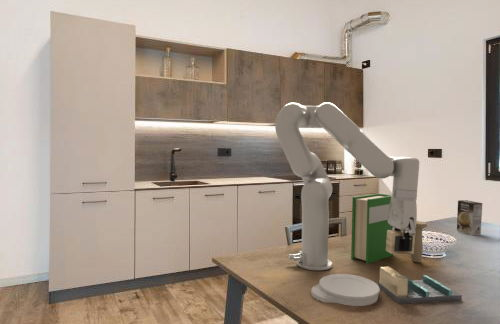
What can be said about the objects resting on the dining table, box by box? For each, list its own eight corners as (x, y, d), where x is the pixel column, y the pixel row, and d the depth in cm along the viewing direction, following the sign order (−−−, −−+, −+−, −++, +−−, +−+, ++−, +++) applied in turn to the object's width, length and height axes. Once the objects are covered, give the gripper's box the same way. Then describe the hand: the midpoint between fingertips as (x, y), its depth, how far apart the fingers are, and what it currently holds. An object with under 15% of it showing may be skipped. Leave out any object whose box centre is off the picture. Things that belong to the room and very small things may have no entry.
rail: (399, 303, 97) (399, 280, 97) (377, 286, 109) (378, 265, 108) (461, 300, 99) (462, 277, 99) (434, 283, 111) (434, 263, 111)
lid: (301, 285, 109) (301, 276, 109) (359, 281, 114) (359, 272, 114) (325, 311, 93) (325, 300, 92) (392, 304, 97) (392, 294, 97)
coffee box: (455, 231, 182) (457, 200, 181) (465, 230, 184) (466, 199, 183) (471, 235, 173) (473, 203, 173) (481, 234, 175) (482, 202, 175)
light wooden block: (391, 254, 115) (393, 233, 114) (385, 250, 119) (387, 230, 118) (414, 254, 116) (416, 233, 116) (407, 250, 120) (409, 230, 119)
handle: (420, 264, 129) (421, 224, 128) (404, 260, 135) (405, 221, 134) (428, 262, 131) (429, 223, 131) (412, 258, 137) (413, 220, 136)
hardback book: (367, 263, 130) (369, 199, 129) (351, 258, 136) (352, 197, 134) (393, 255, 141) (395, 195, 140) (376, 250, 146) (378, 193, 145)
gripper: (381, 190, 124) (377, 241, 125) (408, 198, 107) (403, 256, 108) (400, 190, 125) (396, 241, 126) (430, 198, 108) (426, 256, 109)
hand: (400, 247), depth 117 cm, fingers closed on light wooden block, 3 cm apart
